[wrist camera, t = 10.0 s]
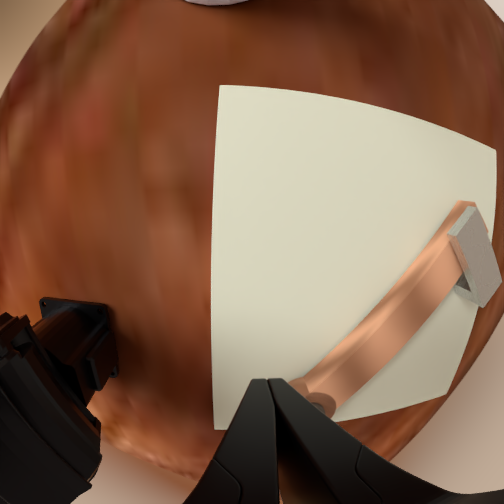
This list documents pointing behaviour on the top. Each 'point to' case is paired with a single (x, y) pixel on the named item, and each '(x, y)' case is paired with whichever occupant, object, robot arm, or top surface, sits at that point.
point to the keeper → (474, 258)
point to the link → (386, 323)
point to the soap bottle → (215, 2)
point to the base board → (331, 239)
